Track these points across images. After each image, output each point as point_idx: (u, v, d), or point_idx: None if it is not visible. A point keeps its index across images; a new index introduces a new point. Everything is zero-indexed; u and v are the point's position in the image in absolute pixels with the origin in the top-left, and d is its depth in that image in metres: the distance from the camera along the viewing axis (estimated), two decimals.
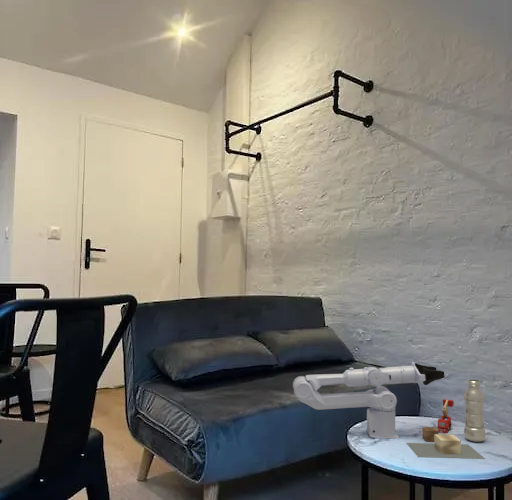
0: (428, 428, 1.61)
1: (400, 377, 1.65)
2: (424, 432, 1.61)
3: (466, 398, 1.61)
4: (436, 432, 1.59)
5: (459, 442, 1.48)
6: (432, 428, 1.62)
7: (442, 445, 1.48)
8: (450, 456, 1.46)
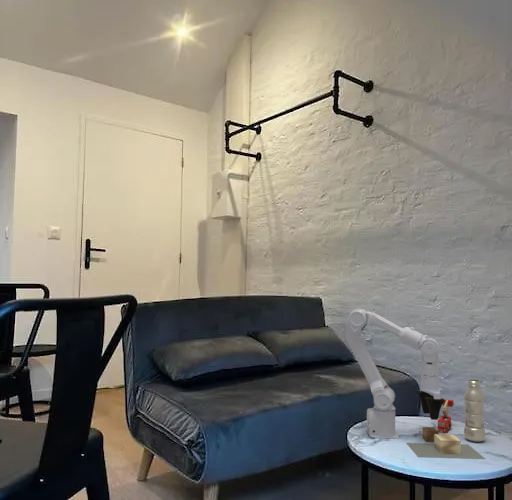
0: (428, 428, 1.61)
1: (428, 374, 1.60)
2: (424, 432, 1.61)
3: (466, 398, 1.61)
4: (436, 432, 1.59)
5: (459, 442, 1.48)
6: (432, 428, 1.62)
7: (442, 445, 1.48)
8: (450, 456, 1.46)
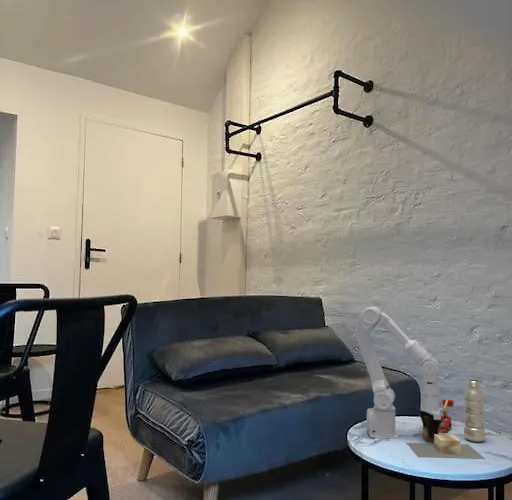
0: None
1: (428, 393, 1.59)
2: (424, 431, 1.61)
3: (466, 398, 1.61)
4: None
5: (459, 442, 1.48)
6: None
7: (442, 445, 1.48)
8: (450, 456, 1.46)
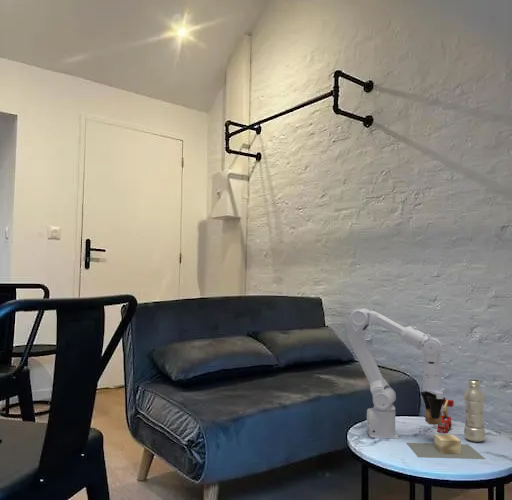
0: None
1: (430, 373, 1.59)
2: (427, 413, 1.60)
3: (466, 398, 1.61)
4: None
5: (459, 442, 1.48)
6: None
7: (442, 445, 1.48)
8: (450, 456, 1.46)
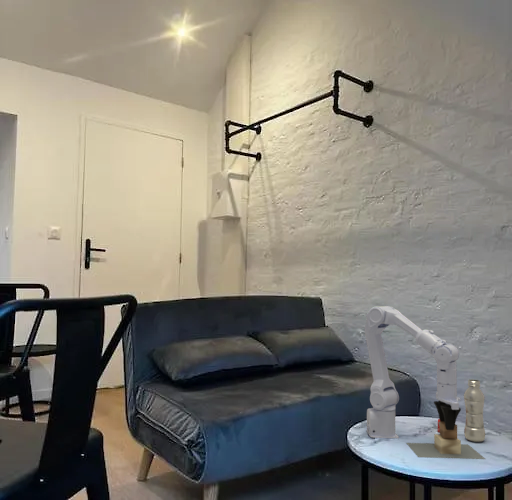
0: None
1: (441, 381, 1.51)
2: (442, 426, 1.51)
3: (466, 398, 1.61)
4: (455, 427, 1.49)
5: (459, 442, 1.48)
6: None
7: (442, 445, 1.48)
8: (450, 456, 1.46)
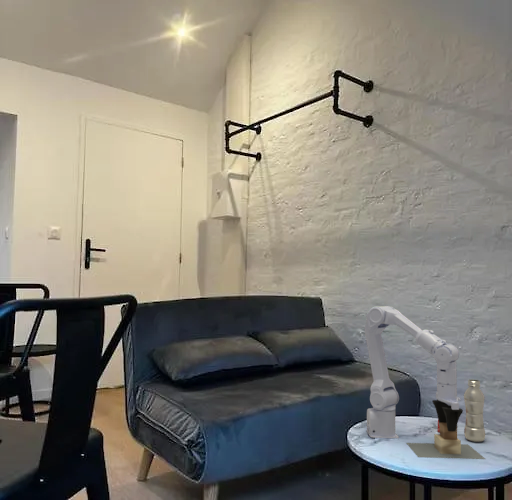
0: (445, 424, 1.52)
1: (441, 381, 1.51)
2: (441, 427, 1.51)
3: (466, 398, 1.61)
4: None
5: (459, 442, 1.48)
6: None
7: (442, 445, 1.48)
8: (450, 456, 1.46)
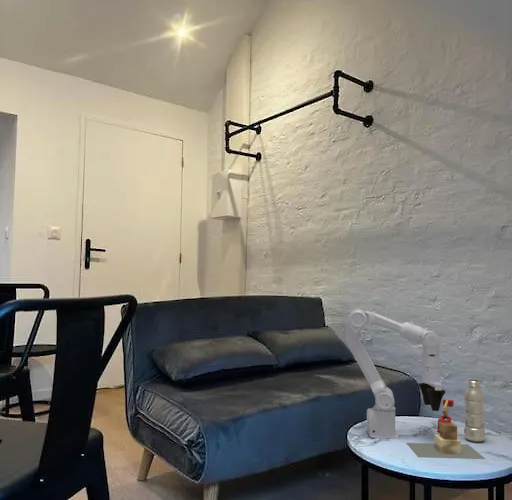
0: (445, 424, 1.52)
1: (431, 365, 1.62)
2: (441, 427, 1.51)
3: (466, 398, 1.61)
4: (455, 428, 1.49)
5: (459, 442, 1.48)
6: (450, 423, 1.52)
7: (442, 445, 1.48)
8: (450, 456, 1.46)
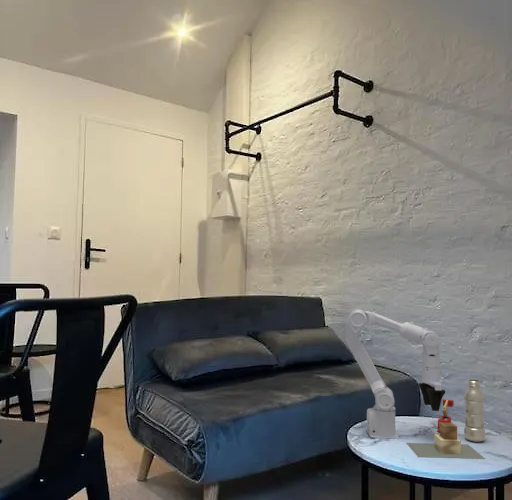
0: (445, 424, 1.52)
1: (431, 365, 1.62)
2: (441, 427, 1.51)
3: (466, 398, 1.61)
4: (455, 428, 1.49)
5: (459, 442, 1.48)
6: (450, 423, 1.52)
7: (442, 445, 1.48)
8: (450, 456, 1.46)
